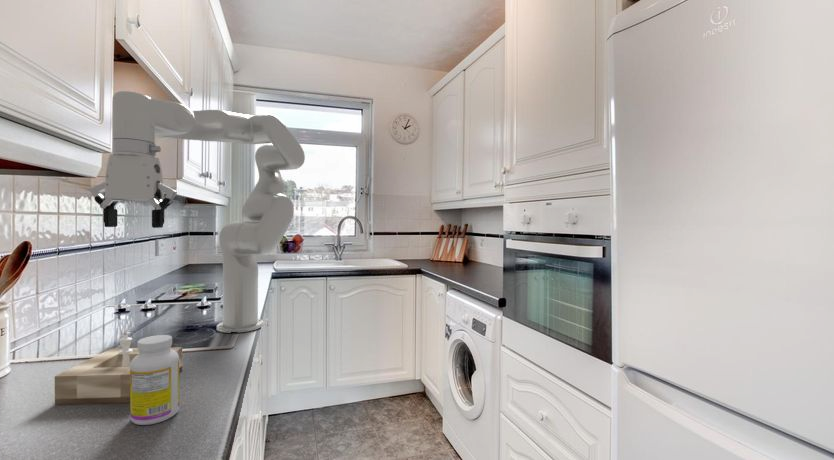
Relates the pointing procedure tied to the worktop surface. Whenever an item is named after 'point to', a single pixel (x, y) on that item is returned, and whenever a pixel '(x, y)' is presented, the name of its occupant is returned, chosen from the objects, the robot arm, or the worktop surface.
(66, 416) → the worktop surface
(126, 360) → the chess piece
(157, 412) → the supplement bottle
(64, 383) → the socket block
